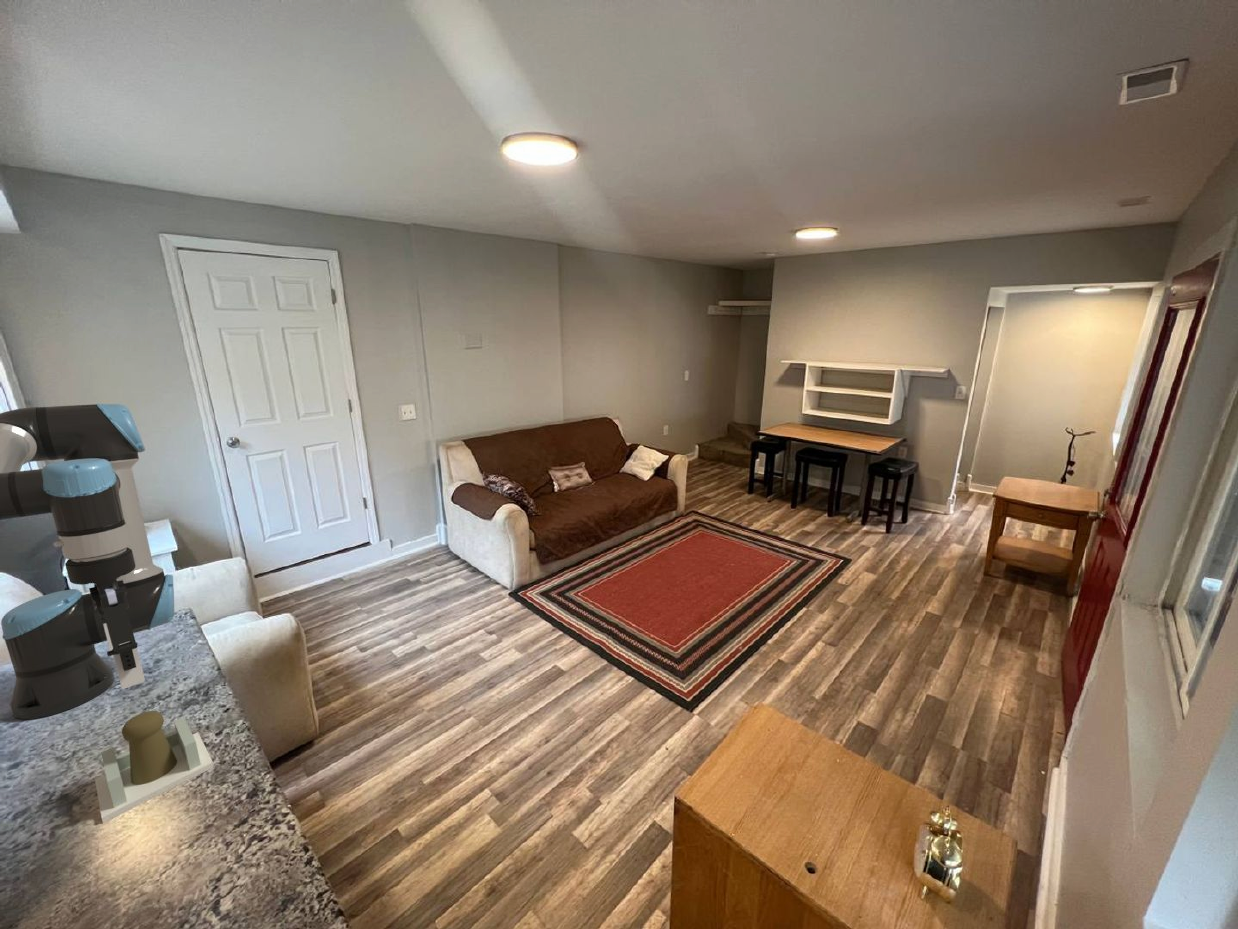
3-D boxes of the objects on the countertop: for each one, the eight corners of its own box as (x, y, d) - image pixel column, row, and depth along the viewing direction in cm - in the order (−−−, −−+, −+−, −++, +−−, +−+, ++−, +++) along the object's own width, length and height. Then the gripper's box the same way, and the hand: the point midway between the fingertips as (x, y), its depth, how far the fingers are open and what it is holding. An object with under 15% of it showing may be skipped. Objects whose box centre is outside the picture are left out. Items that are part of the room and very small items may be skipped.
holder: (96, 783, 84) (88, 754, 83) (199, 736, 95) (193, 710, 93) (103, 823, 77) (94, 792, 75) (213, 767, 87) (207, 738, 86)
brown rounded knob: (147, 787, 82) (133, 732, 80) (121, 781, 83) (106, 727, 81) (185, 759, 88) (173, 707, 85) (160, 754, 89) (147, 703, 87)
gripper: (59, 542, 83) (89, 651, 87) (69, 582, 67) (104, 712, 72) (121, 531, 88) (145, 634, 93) (142, 565, 73) (171, 686, 78)
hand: (127, 668), depth 82 cm, fingers open, 13 cm apart
